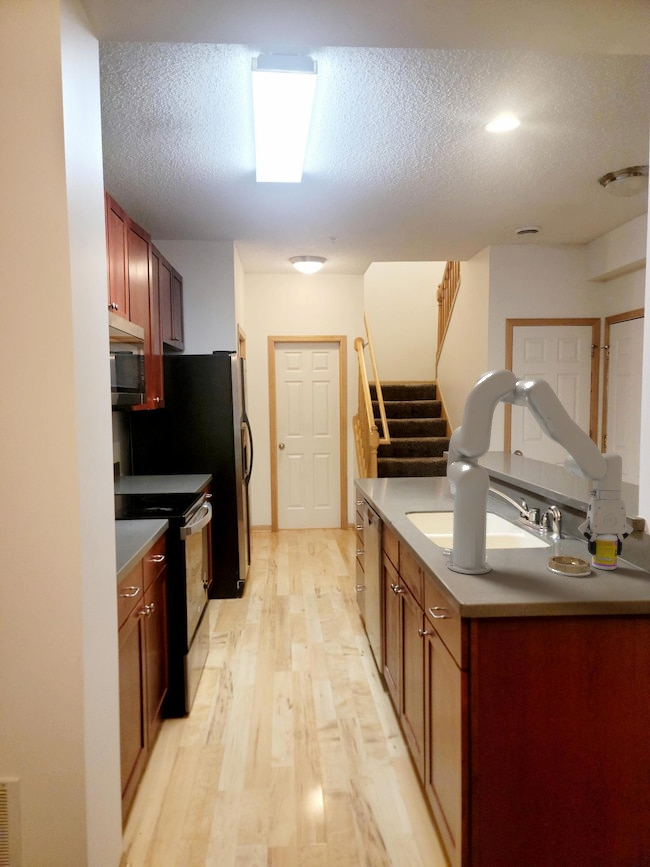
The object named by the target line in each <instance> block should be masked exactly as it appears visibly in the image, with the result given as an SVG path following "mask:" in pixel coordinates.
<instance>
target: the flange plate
mask: <svg viewBox="0 0 650 867" xmlns="http://www.w3.org/2000/svg"><path fill="white" fill-rule="evenodd" d="M546 567H547V568H546V569H547V571H549V572H550V573H552V574H556V575H559V576H563V577H573V578H577V577H579V578H582V577H588V576H590V575H591V574H592V569H591V563H590V562H589V560H586V559H585V558H581V557H577V556H573V555H572V556H571V555H551V556H550V557H547V564H546Z"/></svg>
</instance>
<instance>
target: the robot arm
mask: <svg viewBox="0 0 650 867" xmlns="http://www.w3.org/2000/svg"><path fill="white" fill-rule="evenodd" d="M499 402H500V403H503V404H504V403H505V404H509V405H514V406H518V407H524V408H525V407H526V408H527V409H528V411H529V412H530V413H531V414H532V417H534V420H535V421H536V422H537V424H538V425H539V427H540V429H541V430H542V432H543V433H544V434H545V436H547V437H548V438H549V439H550V440H552V441H553V442H555V443H556V444H558V445H559V446H561V448H563V449H565V450H566V452H567V453H569V454H568V455H567V456H566V457H565V458H564V461H563V467H564V470H565V472H566V473H567V474H569V475H571V476H572V477H575V478H579V479H582V480H586V481H591V482H592V489H591V490H589V491H587V492H588V493H587V495H588V496H591V498H590V499H589V503H588V507H587V512H586V520H584V522H582V523H581V524H580V525H579V526H578V527H577V530H579V532H580V533H581V534H582V535H583V537H585V539H586V540H587V551H588V553H589V554H590V555H595V554H596V542H595V541H594V540H595V538H596V536H597V534H615V535H616V536H617V538H618V540H617V556H621V555H622V552H623V543H624V542H625V540H626V539H627V538H628V537H629V535H631V533H632V532H633V531H634V528H633V527H632V525H630V524H629V522H627V511H626V505H625V501H624V500H623V499H622V477H623V475H622V474H623V473H622V472H623V458H622V456H621V455H620V454H617V453H606V452H605V453H603V452H601V450H600V449H599V447H598V446H597V444H596V443H595V441H594V440H593V439H592V438H591V437H590V436H589V435H588V433H586V431H585V430H583V428H581V426H579V425H578V424H577V423H576V422H575V421H574V420H573V419H572V418H571V416H570V415H569V413H568V412H567V410H566V408H565V407H564V405H563V404H562V402H561V401H560V398H558V395H557V394H556V392H555V391H554V389H553V388H552V386H551V384H549V383H548V382H547V380H544V379H543V378H520V377H516V375H515V374H514V372H512V371H511V370H509V369H506V368H505V369H504V368H497V369H494V370H488V371H484V372H483V373H482V374H481V375H480V376H478V378H477V380H476V384H475V385H474V386H473V387H472V388H471V390H470V392H469V393H468V394H467V397H466V399H465V403H464V407H463V414H462V418H461V419H462V420H461V425H460V426H457V427H456V428H455V430H453V432H452V433H451V436H450V440H449V444H448V452H447V463H446V464H447V465H446V478H447V481H448V483H449V484H450V485H451V486H452V487H453V488H455V495H454V500H453V509H452V510H453V515H452V516H453V518H452V519H453V523H452V524H453V525H452V526H453V528H452V530H453V531H452V532H453V533H452V549H449V548H444V550H443V552H442V556H443V557H446V558H447V557H448V558H449V560H448V561H447V563H446V566H447V567H448V569H449V570H451V571H454V572H457V573H460V574H467V575H481V574H486V573H489V572H491V570H492V565H491V563H489V562H487V560H486V556H487V519H488V518H487V517H488V516H487V515H488V514H487V513H488V512H487V510H488V508H487V507H488V499H489V498H488V497H489V492H490V486H491V483H490V482H491V481H490V475H489V473H488V471H487V470H486V468H485V467H484V466H482V465H481V464H479V458H483V457H484V456H485V455H486V454H487V453H488V451H489V450H490V447H491V446H490V445H491V440H492V438H491V437H492V429H493V428H492V427H493V419H494V413H495V410H496V407H497V405H498V404H499ZM586 529H587V530H588V531H587V530H586Z"/></svg>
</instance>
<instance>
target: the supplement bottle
mask: <svg viewBox="0 0 650 867" xmlns="http://www.w3.org/2000/svg"><path fill="white" fill-rule="evenodd" d="M617 540H618V538H617V536H616V535H615V534H597V536H596V538H595V540H594V541H595V542H596V554H595V555H592V554H591V555H592V556H591V565H592V566H593V567H594V568H596V569H600V570H605V571H611V570H615V569H617V564H618V555H617Z"/></svg>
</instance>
